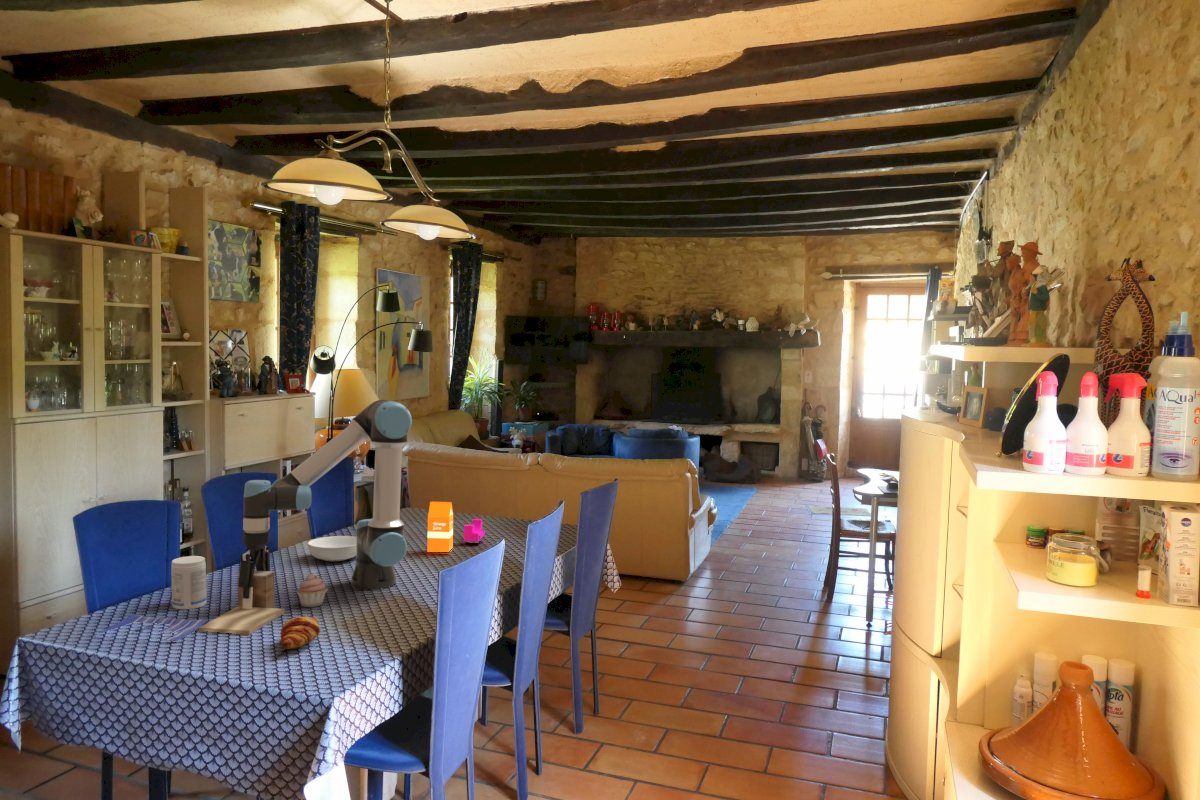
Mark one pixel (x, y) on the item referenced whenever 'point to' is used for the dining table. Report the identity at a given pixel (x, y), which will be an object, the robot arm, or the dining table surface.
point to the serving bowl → (333, 548)
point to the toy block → (473, 531)
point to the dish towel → (175, 625)
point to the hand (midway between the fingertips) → (254, 604)
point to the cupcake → (312, 591)
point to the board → (242, 620)
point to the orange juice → (440, 527)
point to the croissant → (299, 632)
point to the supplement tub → (188, 582)
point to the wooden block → (260, 590)
